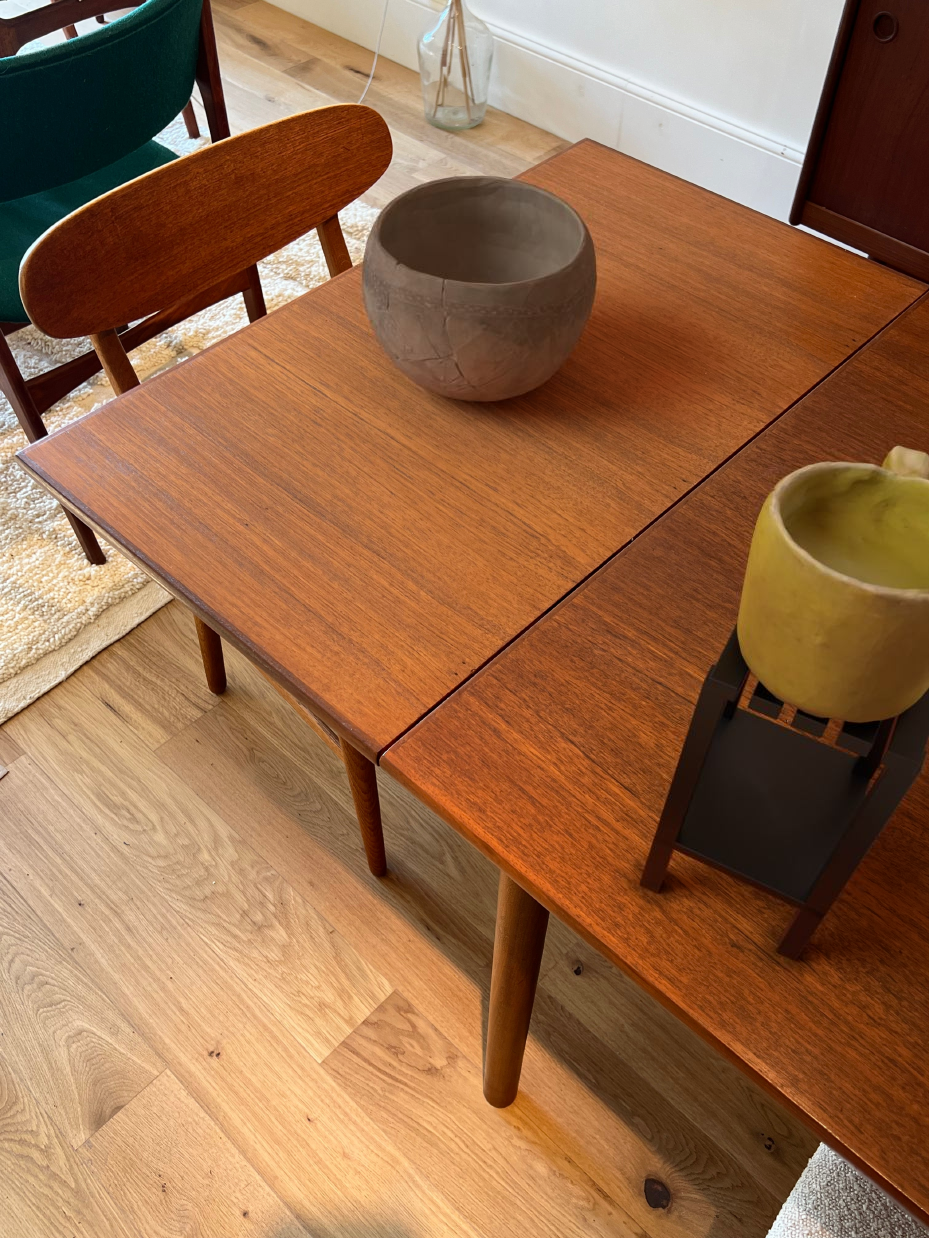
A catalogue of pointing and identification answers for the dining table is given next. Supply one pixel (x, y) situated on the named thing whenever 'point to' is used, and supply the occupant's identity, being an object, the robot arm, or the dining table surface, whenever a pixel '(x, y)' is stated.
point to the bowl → (478, 285)
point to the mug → (842, 588)
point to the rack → (782, 795)
